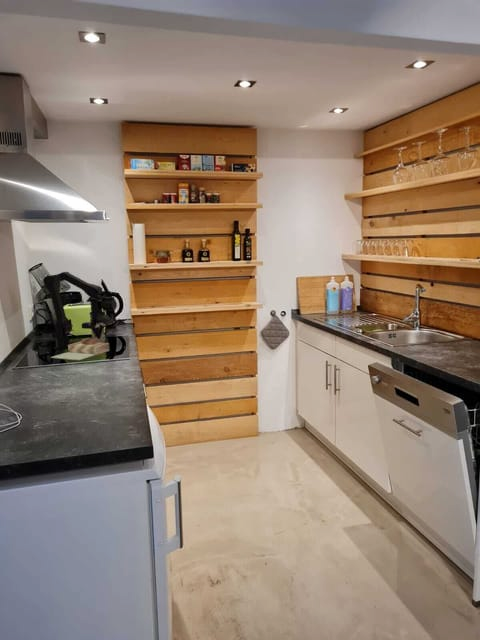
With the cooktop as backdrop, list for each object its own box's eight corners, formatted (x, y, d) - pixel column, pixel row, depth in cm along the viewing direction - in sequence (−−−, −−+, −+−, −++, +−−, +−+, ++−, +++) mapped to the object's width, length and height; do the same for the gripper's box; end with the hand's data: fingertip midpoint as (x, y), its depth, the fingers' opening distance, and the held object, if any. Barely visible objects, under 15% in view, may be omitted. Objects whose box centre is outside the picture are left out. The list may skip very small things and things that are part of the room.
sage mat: (51, 357, 238) (51, 357, 238) (67, 353, 248) (67, 352, 248) (79, 360, 231) (79, 359, 231) (95, 355, 241) (94, 354, 241)
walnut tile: (81, 344, 250) (81, 339, 249) (88, 342, 254) (88, 337, 254) (92, 344, 247) (92, 340, 246) (99, 342, 251) (98, 338, 251)
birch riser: (68, 352, 249) (68, 345, 248) (82, 348, 258) (81, 341, 257) (96, 354, 242) (95, 347, 241) (109, 350, 251) (108, 343, 250)
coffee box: (105, 341, 275) (103, 313, 273) (94, 342, 273) (91, 314, 270) (102, 338, 284) (100, 311, 281) (91, 340, 281) (89, 312, 279)
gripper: (97, 313, 242) (99, 343, 245) (120, 308, 259) (122, 336, 261) (79, 312, 247) (82, 342, 249) (103, 307, 264) (105, 335, 266)
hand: (99, 339), depth 256 cm, fingers closed
